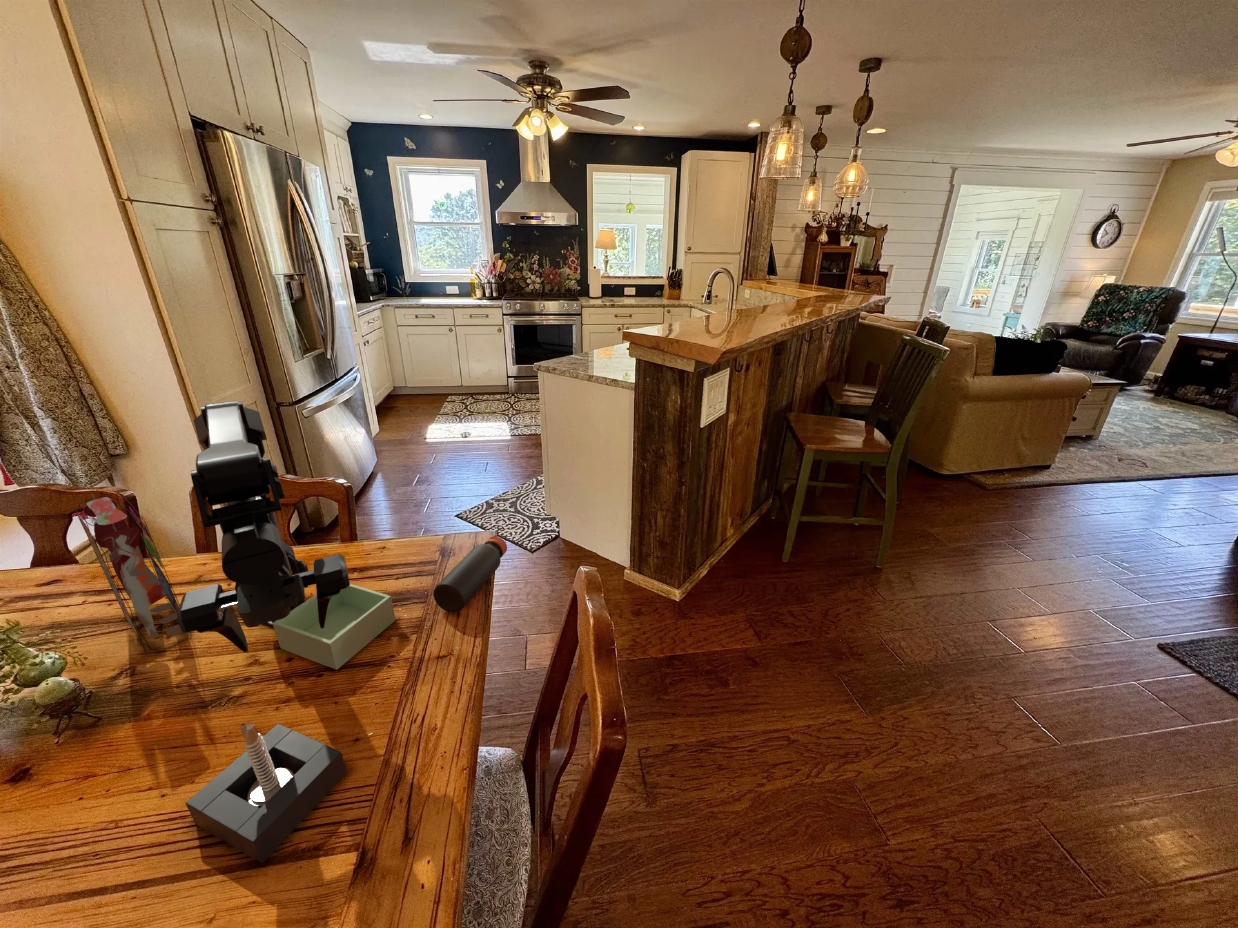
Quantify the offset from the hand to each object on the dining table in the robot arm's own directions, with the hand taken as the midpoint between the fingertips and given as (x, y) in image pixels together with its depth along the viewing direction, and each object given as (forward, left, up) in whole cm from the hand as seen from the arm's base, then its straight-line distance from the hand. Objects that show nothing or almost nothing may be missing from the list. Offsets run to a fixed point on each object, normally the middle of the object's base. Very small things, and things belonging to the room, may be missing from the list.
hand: (285, 638), depth 70 cm
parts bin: (-8, +13, -13) cm, 21 cm away
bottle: (+7, +25, -10) cm, 28 cm away
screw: (+9, -12, -13) cm, 20 cm away
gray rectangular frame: (+9, -12, -13) cm, 20 cm away
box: (-44, +3, -13) cm, 46 cm away
